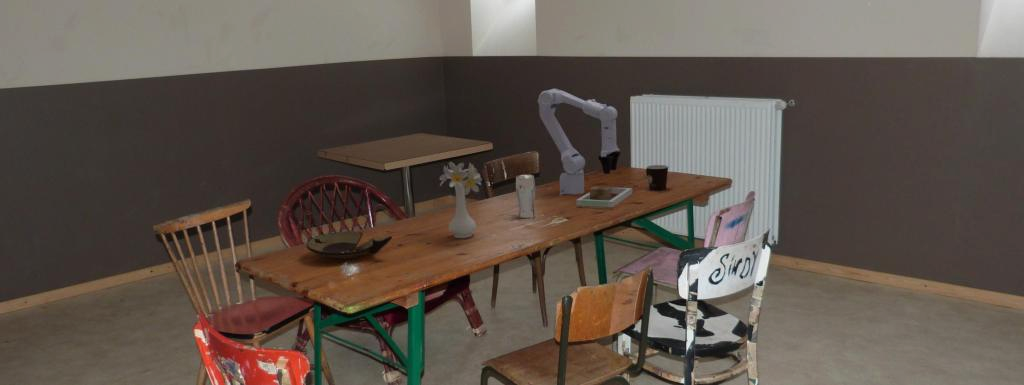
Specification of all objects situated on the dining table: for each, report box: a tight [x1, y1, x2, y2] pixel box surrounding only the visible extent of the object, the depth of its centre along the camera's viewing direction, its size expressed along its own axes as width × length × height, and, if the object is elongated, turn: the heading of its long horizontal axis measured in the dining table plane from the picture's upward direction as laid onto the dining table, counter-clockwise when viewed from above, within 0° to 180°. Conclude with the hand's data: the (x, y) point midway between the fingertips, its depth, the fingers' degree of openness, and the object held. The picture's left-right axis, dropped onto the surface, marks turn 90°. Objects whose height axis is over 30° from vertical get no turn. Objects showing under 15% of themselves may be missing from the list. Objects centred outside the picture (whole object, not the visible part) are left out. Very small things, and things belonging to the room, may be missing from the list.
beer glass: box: [515, 174, 536, 219], centre depth 309 cm, size 7×7×15 cm
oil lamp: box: [306, 230, 393, 260], centre depth 269 cm, size 22×30×8 cm
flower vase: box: [439, 161, 483, 239], centre depth 285 cm, size 13×18×25 cm
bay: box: [576, 186, 633, 210], centre depth 328 cm, size 14×25×3 cm, turn 155°
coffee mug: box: [645, 164, 669, 192], centre depth 342 cm, size 12×9×10 cm
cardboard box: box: [589, 185, 613, 201], centre depth 323 cm, size 7×5×6 cm
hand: (610, 171), depth 335 cm, fingers open, 7 cm apart
